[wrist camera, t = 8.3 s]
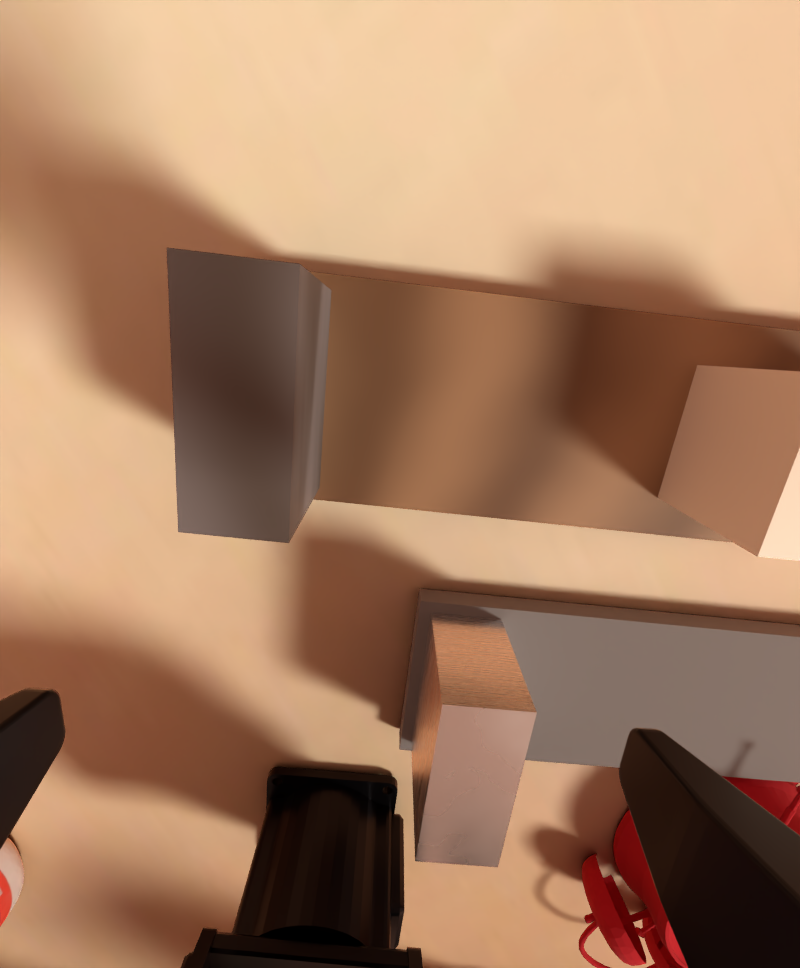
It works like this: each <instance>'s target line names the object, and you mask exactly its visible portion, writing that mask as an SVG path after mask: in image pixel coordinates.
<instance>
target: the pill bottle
mask: <svg viewBox="0 0 800 968" xmlns="http://www.w3.org/2000/svg"><path fill="white" fill-rule="evenodd" d="M23 882H24V867H23V862H22V859H21V857H20V854H19V852H18V850H17V848H16V846H15V845H14V843H13V842H12V841H11V840H10V839H9V838H7V840H6V841H5V843H4V845H3V846H2V848H1V849H0V926H1V925H2V923H3V922H4V920H5V919H6V917H7V916H8V914H9V913H10V911H11V910H12V908H13V907H14V905H15V904H16V902H17V900H18V898H19V896H20V893H21V890H22V887H23Z"/></svg>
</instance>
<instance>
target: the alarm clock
mask: <svg viewBox="0 0 800 968" xmlns="http://www.w3.org/2000/svg"><path fill="white" fill-rule="evenodd" d="M722 777H723V778H725V779H726V780H727V781H729V782H730V783H731V784H733V785H734V786H735V787H737V788H738V789H739V790H741V791H742V792H743V793H745V794H746V795H747V796H749V797H750V798H751V799H752V800H754V801H755V802H756V803H758V804H759V805H760V806H762V807H763V808H764V809H766V810H767V811H768V812H770V813H771V814H772V815H774V816H775V817H776V818H778V819H779V820H780V821H782V822H783V823H784V824H786V825H787V826H788V827H789V828H791V829H792V830H793V831H795V832H796V833H797V834H799V835H800V786H798V787H796V785H797V784H798V783H797V782H785V781H773V780H761V779H749V778H737V777H725V776H722ZM613 852H614V858H615V861H616V865H617V867H618V869H619V872H620V874H621V876H622V878H623V879H624V881H625V882H626V884H627V885H628V886H629V888H630V889H631V890H632V891H633V892H634V893H635V894H636V895H637V896H638V897H639V898H640V899H641V900H642V901H643V903H644V904H645V905H646V907H647V908H646V909H645V910H644V911H641V912H638V913H635V914H632V915H630V914H629V912H628V909H627V907H626V905H625V902H624V900H623V898H622V896H621V894H620V892H619V890H618V888H617V885H616V883H615V881H614V880H613V878H612V876H611V875H610V876H608V877H605V878H603V877H602V874H601V871H600V869H599V865H598V862H597V858H596V854H597V853H596V854H594V855H591V856H590V857H588V858H587V859H586V860H585V861H584V863H583V866H582V879H583V884H584V889H585V893H586V896H587V899H588V902H589V905H590V908H591V910H592V913H591V914H589V915H586V916H585V918H584V919H585V921H586V923H591V922H593V921H594V922H593V923H592V924H590V925H589V926H588V927H587V928H586V930H585V931H584V932H583V934H582V935H581V937H580V939H579V950H580V952H581V954H582V955H583V957H584V958H585V959H586V960H587V961H588V962H589V963H591V964H592V965H593V966H595V967H597V968H610V967H607V966H605V965H603V964H601V963H599V962H597V961H596V960H594V959H593V958H592V957H590V956H589V955H588V954H587V953H586V951H585V950H584V943H585V941H586V939H587V937H588V936H589V935H590V934H591V933H592V932H593V931H594V930H595V929H596V928H597V927H598V926H599V929H600V931H601V933H602V934H603V936H604V938H605V940H606V941H607V943H608V945H609V946H610V948H611V949H612V951H613V952H614V953H615V954H616V955H617V956H618V957H619V958H620V959H621V960H622V961H623V962H624V963H626V964H629V965H631V966H635V965H642V964H646V956H645V953H644V950H643V947H642V944H641V941H640V939H639V936H640V937H642V938H645V941H646V944H647V947H648V950H649V952H650V954H651V956H652V959H653V960H654V962H655V964H653V965H651V966H649V967H647V968H688V966H687V963H686V961H685V959H684V956H683V954H682V952H681V949H680V947H679V945H678V942H677V940H676V937H675V935H674V933H673V930H672V928H671V926H670V923H669V921H668V918H667V916H666V913H665V911H664V908H663V906H662V904H661V901H660V898H659V896H658V893H657V890H656V887H655V884H654V882H653V879H652V876H651V873H650V870H649V867H648V864H647V861H646V858H645V855H644V852H643V849H642V846H641V843H640V840H639V837H638V834H637V831H636V828H635V825H634V822H633V819H632V816H631V813H630V810H628V811H627V812H626V814H625V815H624V817H623V818H622V820H621V822H620V824H619V826H618V828H617V830H616V833H615V837H614V844H613ZM641 919H642V923H643V928H641V929H640V928H638V927H636V928H635V926H634V923H633V922H635V921H638V920H641ZM638 935H639V936H638Z"/></svg>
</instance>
